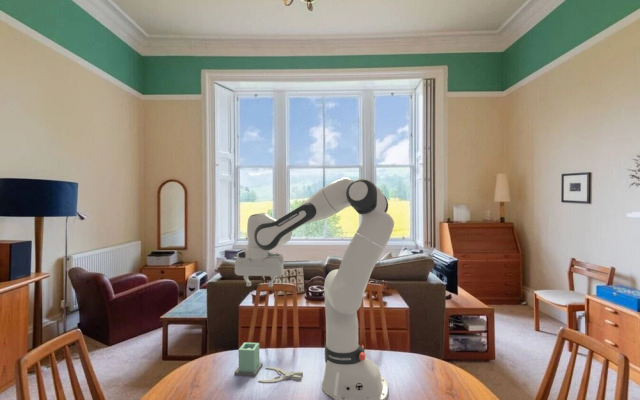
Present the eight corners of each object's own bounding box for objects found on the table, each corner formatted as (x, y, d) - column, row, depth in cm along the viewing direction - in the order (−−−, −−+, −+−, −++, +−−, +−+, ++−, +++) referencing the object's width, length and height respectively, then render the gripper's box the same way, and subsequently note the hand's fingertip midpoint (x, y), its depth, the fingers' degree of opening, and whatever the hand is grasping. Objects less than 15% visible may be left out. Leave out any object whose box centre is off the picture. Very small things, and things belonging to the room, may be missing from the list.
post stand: (262, 365, 128) (262, 345, 127) (255, 376, 120) (254, 355, 120) (243, 363, 129) (242, 343, 129) (234, 374, 121) (234, 353, 121)
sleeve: (259, 363, 127) (259, 343, 127) (254, 371, 121) (254, 350, 121) (244, 362, 128) (244, 342, 128) (238, 370, 122) (238, 349, 122)
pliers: (266, 364, 126) (304, 367, 124) (266, 368, 126) (304, 371, 124) (257, 378, 116) (299, 382, 114) (257, 383, 116) (299, 386, 114)
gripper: (285, 251, 136) (286, 284, 136) (239, 251, 140) (240, 283, 140) (280, 254, 130) (281, 289, 130) (232, 253, 134) (233, 287, 134)
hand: (259, 286), depth 135 cm, fingers open, 8 cm apart
